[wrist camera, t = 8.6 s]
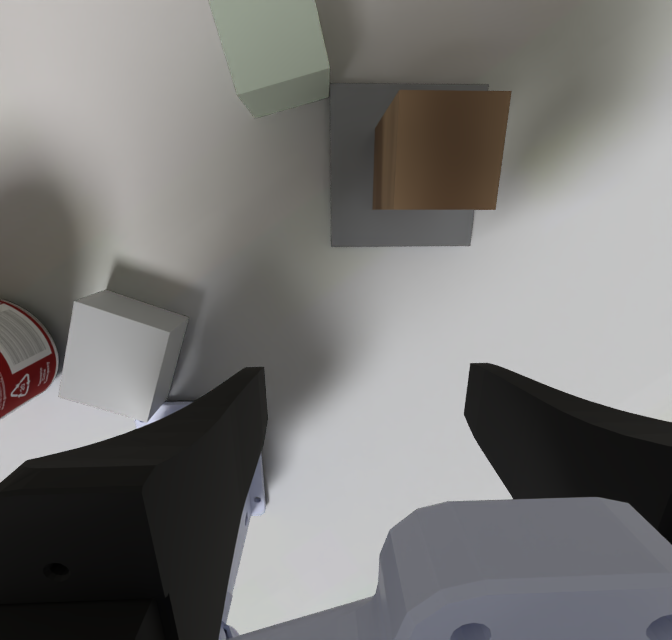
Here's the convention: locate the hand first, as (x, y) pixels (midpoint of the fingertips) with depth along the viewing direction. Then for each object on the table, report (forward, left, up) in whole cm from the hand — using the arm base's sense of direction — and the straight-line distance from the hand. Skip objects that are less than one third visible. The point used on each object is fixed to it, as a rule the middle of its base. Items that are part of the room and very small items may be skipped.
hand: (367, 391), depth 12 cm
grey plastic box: (-2, +13, -10) cm, 17 cm away
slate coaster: (+8, -3, -10) cm, 13 cm away
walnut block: (+8, -3, -9) cm, 13 cm away
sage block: (+13, +4, -10) cm, 17 cm away
